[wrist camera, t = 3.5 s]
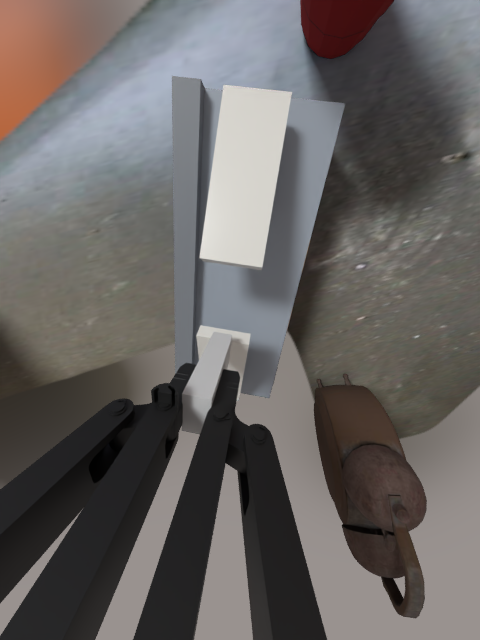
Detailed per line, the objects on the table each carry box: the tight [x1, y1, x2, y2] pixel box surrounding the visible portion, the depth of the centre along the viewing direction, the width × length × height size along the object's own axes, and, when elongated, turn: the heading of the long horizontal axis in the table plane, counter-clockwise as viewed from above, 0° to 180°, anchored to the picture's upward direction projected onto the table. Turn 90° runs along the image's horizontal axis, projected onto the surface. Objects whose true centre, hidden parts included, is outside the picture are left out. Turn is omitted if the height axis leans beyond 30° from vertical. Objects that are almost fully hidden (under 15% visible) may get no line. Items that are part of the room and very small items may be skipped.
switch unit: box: [172, 76, 345, 398], centre depth 23 cm, size 12×28×7 cm, turn 173°
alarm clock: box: [314, 374, 427, 618], centre depth 23 cm, size 15×7×20 cm, turn 11°
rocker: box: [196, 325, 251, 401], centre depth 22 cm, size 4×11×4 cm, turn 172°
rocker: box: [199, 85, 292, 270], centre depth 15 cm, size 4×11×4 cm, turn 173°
